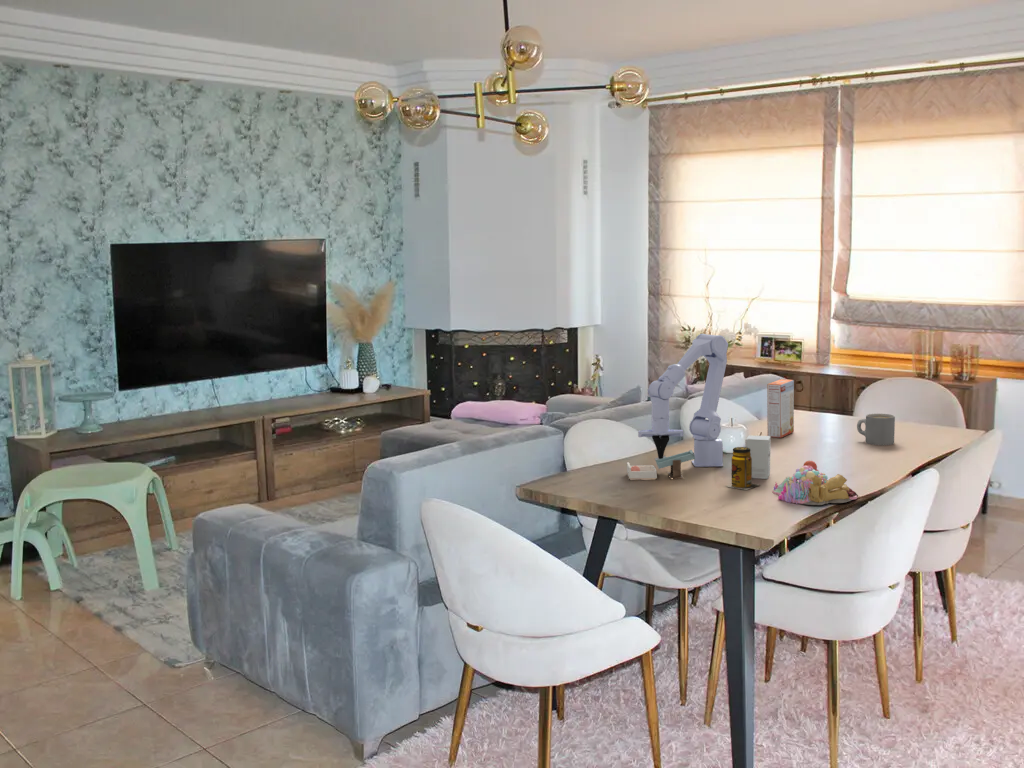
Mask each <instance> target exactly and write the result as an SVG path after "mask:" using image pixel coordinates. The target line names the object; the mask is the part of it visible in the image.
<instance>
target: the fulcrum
mask: <svg viewBox="0 0 1024 768" xmlns="http://www.w3.org/2000/svg"><path fill="white" fill-rule="evenodd" d="M681 467H682V466H681V460H673V465H671V466H670V471H667V475H668V474H669V475H668V477H669V476H670V477H669V479H670V478H673V480H684V478H685V477H684V476H683V474H682V468H681Z"/></svg>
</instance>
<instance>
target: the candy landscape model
mask: <svg viewBox="0 0 1024 768" xmlns="http://www.w3.org/2000/svg"><path fill="white" fill-rule="evenodd" d="M817 468H818V466H817V463H816V462H815V461H813V460H806V461H805V462H804V463H803V465H802V466H801V467H800V468H799V467H798V468H797V469H795V473H793V474H792V476H785V478H784V480H783V481H782V482H781V483H780V484H778V483H777V482H775V484H774V485H773V489H772V493H773V494H774V495H778V497H777V498H778V500H779V501H784V502H786V503H787V504H788V503H789V504H791V503H792V504H796V505H798V504H801V505H809V506H810V505H811V506H822V505H825V504H826V505H828V504H830V503H831V504H843V503H847V502H851V501H854V500H857V499H858V498H859V495H858V493H857V492H856V491H854V490H853V489H852V488H850V487H849V486H847V481H848V479H847V478H845V477H844V475H842V474H839V473H838V474H836V475H834V476H832V477H828V475H827V474H826V473H825V472H820V470H819V469H817Z"/></svg>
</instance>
